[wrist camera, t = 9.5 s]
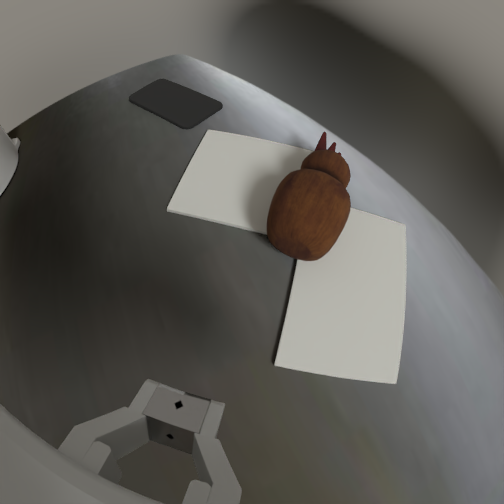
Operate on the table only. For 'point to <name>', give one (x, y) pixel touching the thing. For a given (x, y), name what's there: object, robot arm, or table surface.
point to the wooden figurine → (311, 205)
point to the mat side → (234, 179)
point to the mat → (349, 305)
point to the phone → (175, 103)
